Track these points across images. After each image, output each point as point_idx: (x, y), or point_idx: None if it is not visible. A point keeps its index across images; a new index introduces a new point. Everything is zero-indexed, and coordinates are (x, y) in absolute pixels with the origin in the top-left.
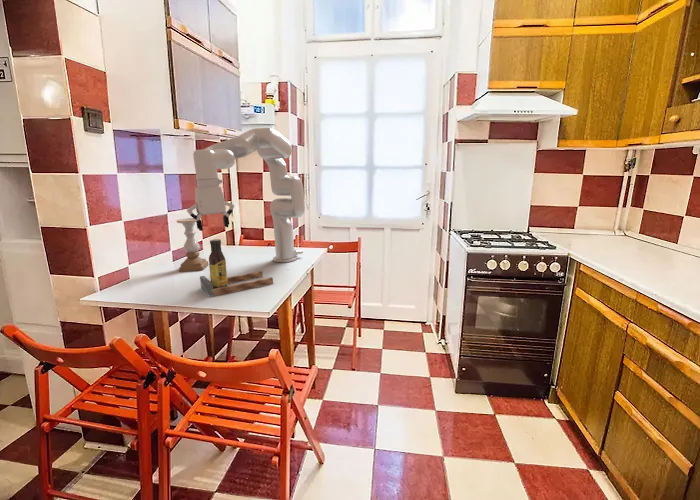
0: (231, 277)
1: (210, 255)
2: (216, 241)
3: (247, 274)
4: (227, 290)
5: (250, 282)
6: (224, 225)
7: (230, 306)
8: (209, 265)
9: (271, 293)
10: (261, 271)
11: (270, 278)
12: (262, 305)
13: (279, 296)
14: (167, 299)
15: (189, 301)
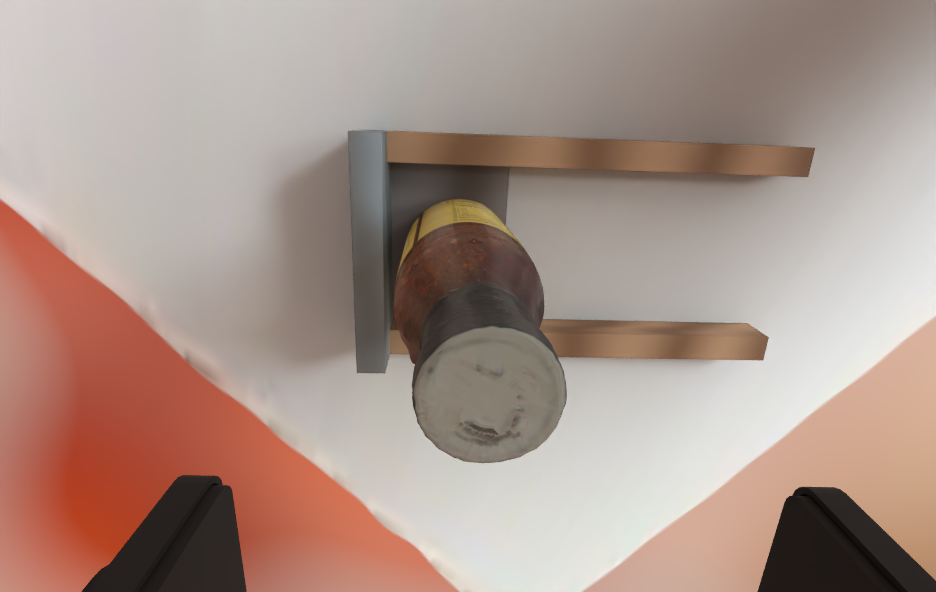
0: (576, 161)
1: (405, 334)
2: (482, 461)
3: (696, 167)
4: None
5: (619, 355)
6: (797, 518)
7: (420, 512)
8: (395, 290)
9: (643, 475)
10: (809, 163)
11: (748, 359)
12: (536, 574)
13: (647, 528)
14: (144, 216)
15: (260, 333)
